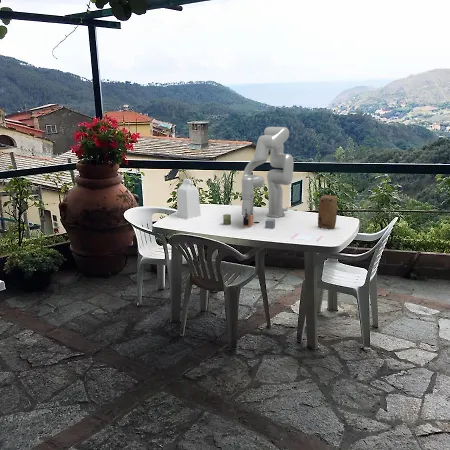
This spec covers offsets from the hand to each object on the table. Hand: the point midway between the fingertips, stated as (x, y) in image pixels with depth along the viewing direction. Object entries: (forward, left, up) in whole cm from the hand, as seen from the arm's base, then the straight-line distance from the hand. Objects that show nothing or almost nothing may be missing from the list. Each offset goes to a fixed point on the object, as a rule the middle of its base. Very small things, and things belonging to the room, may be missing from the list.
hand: (248, 223), depth 288 cm
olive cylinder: (+8, -12, -2) cm, 15 cm away
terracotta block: (0, 0, -2) cm, 2 cm away
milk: (+16, -47, -2) cm, 50 cm away
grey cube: (-8, +12, -2) cm, 15 cm away
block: (-34, +35, -2) cm, 49 cm away
